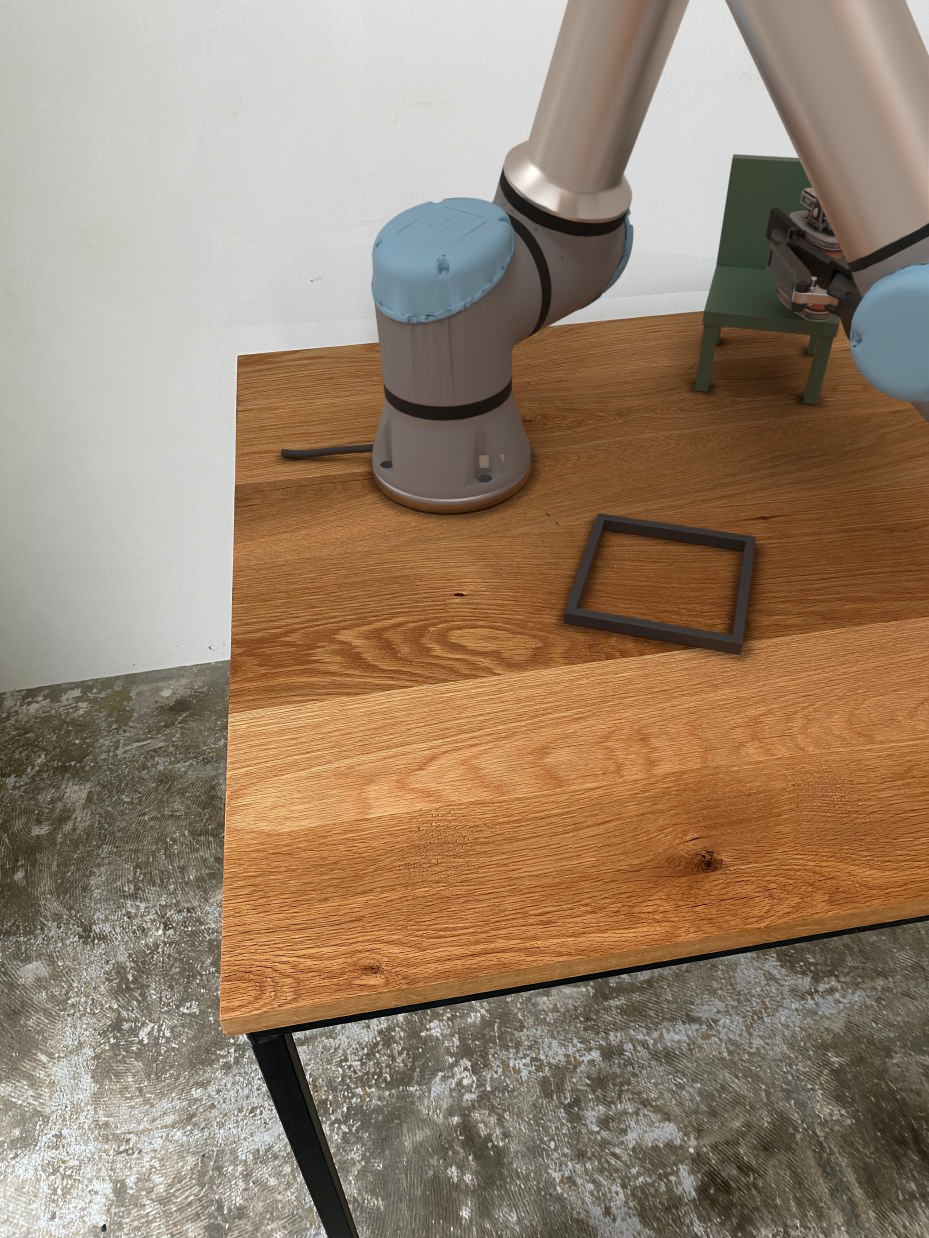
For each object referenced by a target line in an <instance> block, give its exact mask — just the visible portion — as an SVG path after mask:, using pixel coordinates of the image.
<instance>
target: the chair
mask: <svg viewBox="0 0 929 1238" xmlns="http://www.w3.org/2000/svg"><path fill="white" fill-rule="evenodd" d="M727 185H728V186H727V191H726V198H725V203H724V204H725V205H724V212H723V219H722V225H721V230H720V238H719V244H718V250H717V255H716V256H717V257H716V262H715V263H716V264H715V267H714V272H713V275H712V279H711V283H710V287H709V290H708V294H707V298H706V302H705V306H704V310H703V314H702V321H701V325H703V329H702V336H701V342H700V343H701V344H700V349H699V357H698V363H697V370H696V375H695V376H696V377H695V383H694V391H696V392H705V393H708V392H709V387H710V382H711V376H712V369H713V362H714V358H715V357H714V356H715V352H716V351H715V350H716V346H719V344H720V339H721V333H722V328H732V329H740V330H741V329H743V330H752V331H763V332H772V333H773V332H774V333H782V334H783V333H784V334H793V335H802V336H809V341H808V344H807V350H806V353H807V355H811V356H812V360H811V363H810V368H809V371H808V372H809V373H808V376H807V380H806V385H805V390H804V394H803V400H802V403H803V404H806V405H807V404H808V405H816V406H817V405H818V403H819V398H820V395H821V390H822V387H823V383H824V379H825V375H826V371H827V367H828V362H829V358H830V355H831V350H832V347H833V342H834V339H836V338H837V336H838V332H839V328H840V325H841V324H840V322H841V320H840V317H838V316H836V315H834V314H832V315H831V318H830V319H829V320H826V321H810V320H807V319H805V318H803V317H802V316H800V315H798V314H797V313H795V312H793V311H791V309H790V308H788V307H787V306H786V305H785V304H784V303H783V302H782V301H781V300H780V299H779V298H778V296H777V295H776V293H775V288H776V283H777V282H776V281H775V280H774V278H773V277H772V276H771V275H770V273H769V272H768V271H767V269H766V266H767V261H768V255H769V250H770V243H771V242H770V241H769V240H768V239H767V238H766V232H767V227H768V221H769V216H770V211H771V209H774V208H779V209H780V210H781V211H782V212H783V213H784V214H785V215H787V216H788V217H789V216H790V214H791V213H792V212H796V211H807V210H808V209H809V208H807V207H806V206H804V205H803V204H801V203H800V200H801V195H802V191H803V190H805V188H813V187H812V185H811V183H810V181H809V179H808V177H807V175H806V172H805V170H804V168H803V166H802V164H801V162H800V160H799V157H792V156H791V157H790V156H789V157H788V156H771V155H769V156H768V155H755V154H753V155H752V154H737V153H734V154H733V155H732V158H731V164H730V171H729V178H728V184H727ZM843 258H845V256H843Z"/></svg>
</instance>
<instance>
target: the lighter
mask: <svg viewBox="0 0 929 1238" xmlns="http://www.w3.org/2000/svg"><path fill="white" fill-rule="evenodd" d="M800 203H801V204H803V205H804V206H806V207H807V208H809V209H808V210H807V211H796V212H792V213H791V214H790V216H789V218H790V219H791V220H792V221H793V222H794V223H795V224H797V225H798V226H799V227H800V228H801V229H802V230H803V231H804V232H805V237H804V240H805V241H807V242H809V243H810V244H812V245H814V246H815V247H817V248H818V249H820V250H822V251H823V252H825V253H826V254H828V255H830V256H831V257H833V258H835V259H841V258H843V256H844V254H843V252H842V250H841V247H840V245H839V243H838V241H837V239H836V237H835V235H834V232H833V230H832V228H831V226H830V224H829V222H828V220H827V217H826V215H825V213H824V211H823V209H822V207H821V205H820V202H819V200H818V198H817V196H816V194H815V192H814V190H813V188H805V190H803V191H802V195H801V200H800ZM775 293H776V295H777V296H778V298H779V299H780V300H781V301H782V302H783V303H784V304H785V305H786V306H787V307H788V308H790V305H791V300H790V299H789V298H788V296H787V295H786V294H785V293H784V291H783V290H782V289H781V287H780V286H779V285H778V284H777V283H776V288H775ZM795 313H797V314H798V315H800V316H802V317H803V318H805V319H807V320H810V321H826V320H829V319H830V318H831V315H832V314H831V313H829V312H828V311H826V309H825V308H824V305H816V304H811V306H806V307H805V311H803V312H800V313H798V312H795Z"/></svg>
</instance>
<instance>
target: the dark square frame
mask: <svg viewBox="0 0 929 1238" xmlns="http://www.w3.org/2000/svg"><path fill="white" fill-rule="evenodd" d="M604 530H605V531H610V532H616V533H624V534H631V535H637V536H644V537H649V538H655V539H662V540H668V541H669V540H671V541H676V542H681V543H688V544H689V543H690V544H695V545H702V546H708V547H714V548H721V549H726V550H727V549H728V550H735V551H741V552H742V558H741V559H742V560H741V565H740V573H739V581H738V587H737V594H736V602H735V608H734V616H733V624H732V629H731V634H729V633H724V632H718V631H713V630H708V629H707V630H706V629H700V628H695V627H689V626H685V625H684V626H683V625H678V624H671V623H666V622H661V621H655V620H650V619H649V620H648V619H644V618H637V617H631V616H627V615H621V614H614V613H609V612H604V611H597V610H591V609H586V608H580V606H581V603H582V599H583V596H584V593H585V590H586V587H587V584H588V581H589V578H590V575H591V571H592V568H593V565H594V562H595V559H596V555H597V553H598V550H599V546H600V543H601V540H602V537H603V534H604V532H605V531H604ZM756 540H757V537H756V536H755V535H749V534H748V535H747V534H741V533H736V532H728V531H721V530H716V529H707V528H701V527H694V526H689V525H682V524H674V523H668V522H661V521H656V520H655V521H654V520H647V519H642V518H635V517H634V518H633V517H628V516H622V515H614V514H608V513H600V512H598V513H597V514H596V516H595V520H594V523H593V525H592V529H591V531H590V534H589V537H588V540H587V544H586V546H585V550H584V552H583V556H582V559H581V562H580V564H579V567H578V571H577V573H576V576H575V580H574V583H573V586H572V589H571V592H570V594H569V597H568V600H567V602H566V607H565V609H564V612H563V623H564V624H567V625H573V626H578V627H579V626H580V627H583V628H588V629H589V628H590V629H596V630H600V631H606V632H610V633H616V634H623V635H629V636H633V637H640V638H645V639H650V640H655V641H661V642H667V643H672V644H679V645H683V646H684V645H685V646H689V647H695V648H701V649H706V650H711V651H712V650H713V651H717V652H722V653H728V654H733V655H734V654H735V655H741V652H742V648H743V643H744V637H745V629H746V621H747V612H748V604H749V595H750V589H751V580H752V572H753V566H754V565H753V564H754V557H755V548H756Z"/></svg>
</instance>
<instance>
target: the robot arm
mask: <svg viewBox="0 0 929 1238" xmlns="http://www.w3.org/2000/svg"><path fill="white" fill-rule="evenodd" d="M724 1H725V3H726V6H727V8H728V10H729V12H730V15H731V16H732V18H733V20H734V22H735V25H736V27H737V29H738V31H739V34H740V35H741V38H742V39H743V42H744V44H745V46H746V48H747V50H748V52H749V55H750V57H751V59H752V61H753V63H754V65H755V67H756V70H757V71H758V74H759V76H760V79H761V80H762V82H763V85H764V86H765V89H766V91H767V93H768V96H769V97H770V99H771V102H772V104H773V106H774V109H775V111H776V112H777V114H778V117H779V119H780V121H781V123H782V125H783V128H784V129H785V132H786V134H787V136H788V138H789V140H790V143H791V145H792V146H793V149H794V151H795V153H796V155H797V158H799V160H800V162H801V164H802V166H803V168H804V170H805V172H806V175H807V177H808V179H809V181H810V183H811V185H812V187H813V190H814V192H815V194H816V196H817V198H818V200H819V202H820V205H821V207H822V209H823V211H824V213H825V215H826V217H827V220H828V222H829V224H830V226H831V228H832V230H833V232H834V235H835V237H836V239H837V241H838V243H839V245H840V247H841V250H842V252H843V254H844V256H845V258H841V259H835V258H833V257H831V256H830V255H828V254H826V253H825V252H823V251H822V250H820V249H818V248H817V247H815V246H814V245H812V244H810V243H809V242H807V241H805V240H804V237H805V232H804V231H803V230H802V229H801V228H800V227H799V226H798V225H797V224H795V223H794V222H793V221H792V220H791V219H790V218H789V217H788V216H787V215H785V214H784V213H783V212H782V211H781V210H780V209H779V208H774V209H771V211H770V216H769V221H768V227H767V232H766V238H767V239H768V240H769V241H770V242H771V243H770V250H769V255H768V261H767V266H766V269H767V271H768V272H769V273H770V275H771V276H772V277H773V278H774V280H775V281H776V282H777V284H778V285H779V286H780V287H781V289H782V290H783V291H784V293H785V294H786V295H787V296H788V298H789V299H790V300H791V305H790V309H791V311H793V312H798V313H800V312H803V311H805V307H806V306H811V304H816V305H824V308H825V309H826V311H828V312H829V313H831V314H834V315H836V316H838V317H840V322H841V325H842V328H843V331H844V334H845V336H846V338H847V340H848V341H849V343H850V345H849V349H850V354H851V357H852V360H853V363H854V365H855V367H856V368H857V370H858V372H859V373H860V375H861V376H862V377H863V379H865V381H866V382H867V383H869V385H871V386H872V387H873V388H874V389H876V390H877V391H879V392H880V393H882V394H884V395H886V396H888V397H890V398H893V399H896V400H899V401H903V402H909V403H910V405H912V407H913V408H914V409H915V410H916V411H917V412H918V413H919V414H920V415H921V416H922V418H924V420H925V421H926V422H927V423H928V424H929V53H928V50H927V48H926V45H925V43H924V40H923V38H922V36H921V34H920V31H919V29H918V26H917V24H916V21H915V19H914V17H913V15H912V12H911V10H910V8H909V4H908V2H907V0H724ZM689 4H690V0H567V3H566V6H565V9H564V13H563V17H562V21H561V24H560V27H559V31H558V34H557V38H556V42H555V45H554V49H553V52H552V56H551V59H550V62H549V66H548V70H547V73H546V77H545V80H544V84H543V87H542V90H541V95H540V98H539V101H538V105H537V108H536V112H535V115H534V119H533V122H532V126H531V129H530V134H529V136H528V139H527V140H525V141H523V142H521V143H518V144H516V145H514V146H513V147H512V148H510V149H509V151H508V152H507V153H506V155H505V157H504V161H503V164H502V169H501V171H500V175H499V179H498V182H497V186H496V189H495V194H494V198H492V199H493V200H492V201H489V200H486V199H480V198H477V197H463V196H461V197H460V196H459V197H446V198H443V199H442V200H441V201H438V202H433V201H426V202H423V203H420V204H417V205H414V206H412V207H410V208H407V209H405V210H403V211H402V212H400V213H398V214H397V215H395V216H394V217H392V218H391V219H390V220H389V221H387V223H385V225H383V226H382V227H381V229H380V230H379V232H378V234H377V235H376V238H375V240H374V242H373V246H372V251H371V260H372V261H371V262H372V263H371V264H372V277H371V284H370V285H371V295H372V298H373V299H372V300H373V303H374V309H375V317H376V318H375V321H376V328H377V336H378V345H379V353H380V354H379V355H380V362H381V363H380V364H381V374H382V381H383V382H382V383H383V394H384V402H383V406H382V410H381V414H380V418H379V422H378V426H377V430H376V434H375V437H374V441H373V443H369V444H355V445H353V444H351V445H339V446H329V447H321V448H319V447H318V448H313V449H312V448H311V449H289V448H282V449H280V456H281V458H291V459H304V458H305V459H306V458H307V459H309V458H317V457H319V458H320V457H326V456H335V455H349V454H350V455H351V454H366V453H371V466H372V472H373V474H372V475H373V479H374V482H375V485H376V486H377V487H378V489H379V490H380V491H381V492H382V493H383V494H384V495H385V496H386V497H387V498H389V499H391V500H392V501H394V502H395V503H398V504H400V505H402V506H404V507H407V508H410V509H413V510H417V511H421V512H427V513H436V514H459V513H460V514H461V513H467V512H474V511H478V510H482V509H486V508H489V507H492V506H495V505H498V504H499V503H502V502H504V501H506V500H507V499H509V498H511V497H512V496H513V495H516V493H517V492H519V491H520V490H521V489H523V487H524V485H525V484H526V483H527V481H528V479H529V478H530V474H531V471H532V450H531V449H532V448H531V445H530V441H529V437H528V434H527V431H526V429H525V426H524V423H523V420H522V418H521V415H520V412H519V409H518V407H517V403H516V401H515V398H514V396H513V350H514V347H515V346H517V345H519V344H520V343H521V342H523V341H525V340H527V339H529V338H531V337H532V336H533V335H535V334H538V333H539V332H541V331H542V330H544V329H547V328H548V327H550V326H551V325H553V324H555V323H557V322H559V321H561V320H563V319H565V318H567V317H568V316H570V315H572V314H574V313H575V312H577V311H581V310H583V309H585V308H587V307H588V306H590V305H593V303H594V302H596V301H598V300H599V299H600V298H601V297H602V296H603V294H605V293H607V291H608V290H610V289H612V287H613V286H614V285H615V284H616V283H617V281H618V280H619V279H620V278H621V276H622V274H623V273H624V271H625V270H626V268H627V265H628V263H629V261H630V257H631V254H632V250H633V244H634V235H635V234H634V231H635V230H634V225H633V224H631V223H630V215H631V213H632V212H631V209H630V207H631V205H632V200H633V190H632V186H631V185H630V183H629V181H628V178H627V177H626V175H625V172H626V169H627V166H628V164H629V161H630V159H631V156H632V154H633V151H634V148H635V146H636V143H637V140H638V137H639V135H640V132H641V130H642V128H643V125H644V122H645V120H646V117H647V114H648V111H649V109H650V106H651V104H652V100H653V98H654V95H655V93H656V91H657V87H658V85H659V82H660V79H661V77H662V74H663V71H664V69H665V66H666V63H667V61H668V59H669V56H670V53H671V50H672V48H673V45H674V44H675V43H674V42H675V40H676V38H677V35H678V32H679V29H680V27H681V25H682V22H683V19H684V16H685V14H686V11H687V9H688V6H689Z"/></svg>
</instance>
